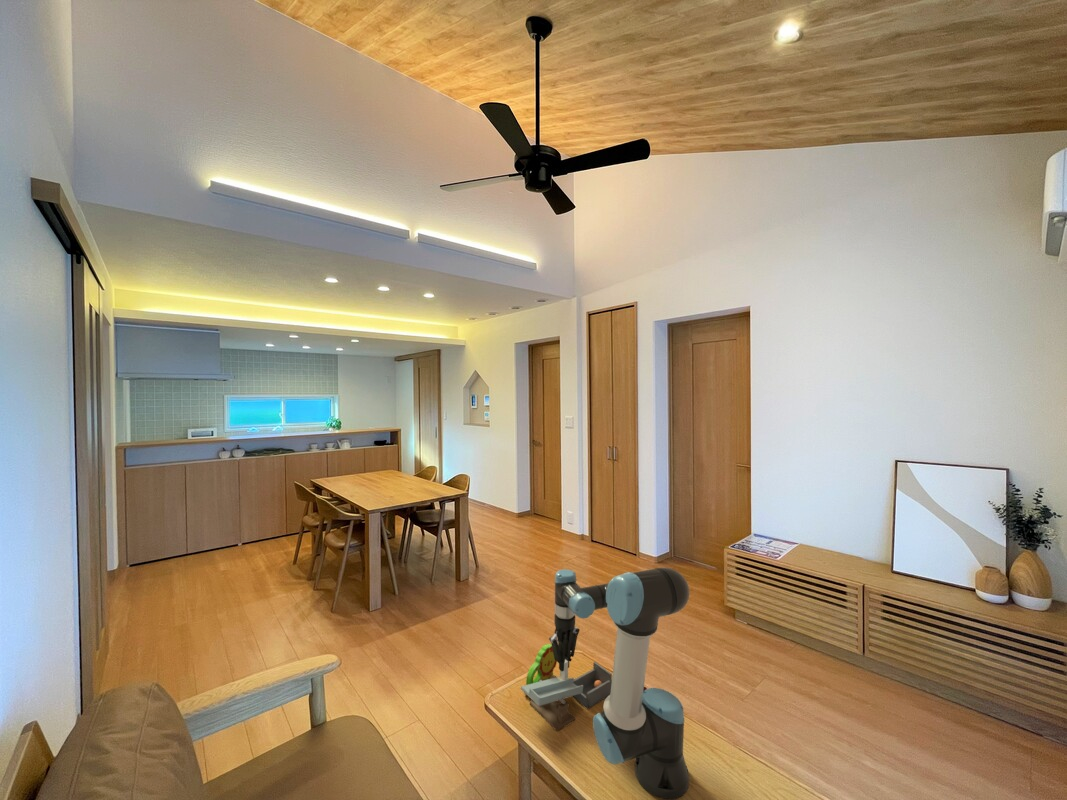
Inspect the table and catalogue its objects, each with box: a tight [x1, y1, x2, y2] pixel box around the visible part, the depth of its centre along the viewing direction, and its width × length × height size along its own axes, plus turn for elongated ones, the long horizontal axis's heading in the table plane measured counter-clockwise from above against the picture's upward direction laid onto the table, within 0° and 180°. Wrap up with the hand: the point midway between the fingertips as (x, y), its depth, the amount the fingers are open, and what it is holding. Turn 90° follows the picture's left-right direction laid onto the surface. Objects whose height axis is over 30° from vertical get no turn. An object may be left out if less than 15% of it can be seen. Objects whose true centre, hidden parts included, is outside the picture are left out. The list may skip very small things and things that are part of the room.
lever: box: [520, 675, 583, 706], centre depth 151 cm, size 13×20×3 cm, turn 127°
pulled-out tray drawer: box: [571, 661, 613, 710], centre depth 159 cm, size 9×12×8 cm
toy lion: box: [523, 643, 558, 696], centre depth 163 cm, size 16×5×15 cm, turn 137°
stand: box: [529, 699, 576, 732], centre depth 151 cm, size 15×8×6 cm, turn 37°
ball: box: [594, 680, 602, 688], centre depth 162 cm, size 3×3×3 cm
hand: (563, 677), depth 158 cm, fingers closed
